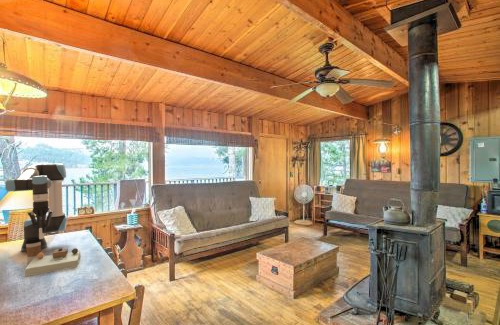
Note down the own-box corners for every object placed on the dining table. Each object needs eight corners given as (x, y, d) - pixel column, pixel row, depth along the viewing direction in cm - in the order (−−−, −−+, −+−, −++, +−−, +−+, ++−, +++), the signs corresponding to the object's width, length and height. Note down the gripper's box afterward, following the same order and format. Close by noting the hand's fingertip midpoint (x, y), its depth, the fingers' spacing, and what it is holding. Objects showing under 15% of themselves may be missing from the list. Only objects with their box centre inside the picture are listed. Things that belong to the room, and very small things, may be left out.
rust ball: (37, 257, 166) (37, 252, 166) (44, 256, 168) (44, 251, 168) (36, 259, 163) (36, 254, 163) (43, 258, 165) (43, 253, 165)
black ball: (72, 253, 173) (71, 248, 173) (78, 252, 175) (78, 247, 175) (71, 254, 170) (71, 249, 170) (77, 253, 172) (77, 248, 172)
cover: (54, 254, 171) (54, 248, 171) (67, 252, 175) (67, 246, 175) (52, 257, 165) (52, 251, 165) (66, 255, 169) (66, 249, 169)
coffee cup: (32, 263, 168) (32, 240, 168) (22, 262, 169) (21, 239, 169) (45, 258, 176) (44, 236, 176) (35, 257, 178) (34, 236, 178)
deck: (33, 264, 166) (33, 257, 166) (80, 256, 178) (80, 250, 178) (25, 276, 149) (24, 269, 149) (77, 266, 161) (77, 260, 161)
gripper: (24, 202, 156) (25, 241, 156) (49, 201, 159) (50, 239, 160) (31, 200, 163) (32, 237, 164) (55, 199, 166) (56, 235, 167)
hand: (41, 238), depth 162 cm, fingers closed
